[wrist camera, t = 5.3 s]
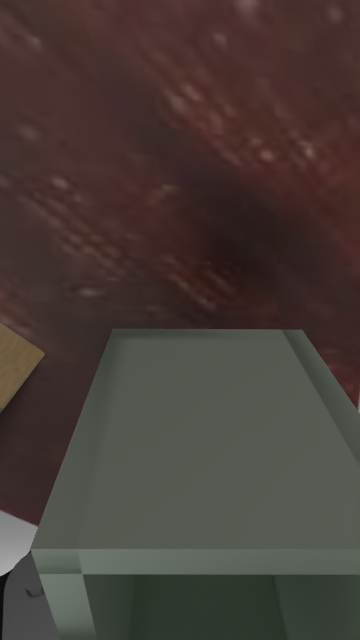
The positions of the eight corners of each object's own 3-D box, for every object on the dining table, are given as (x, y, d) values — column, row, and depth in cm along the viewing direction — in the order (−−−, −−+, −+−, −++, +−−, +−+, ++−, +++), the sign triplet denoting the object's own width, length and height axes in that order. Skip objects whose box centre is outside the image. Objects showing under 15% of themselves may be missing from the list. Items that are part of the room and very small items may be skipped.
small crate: (112, 328, 10) (31, 549, 4) (302, 329, 10) (452, 549, 4) (129, 505, 13) (95, 745, 8) (267, 506, 13) (327, 744, 8)
